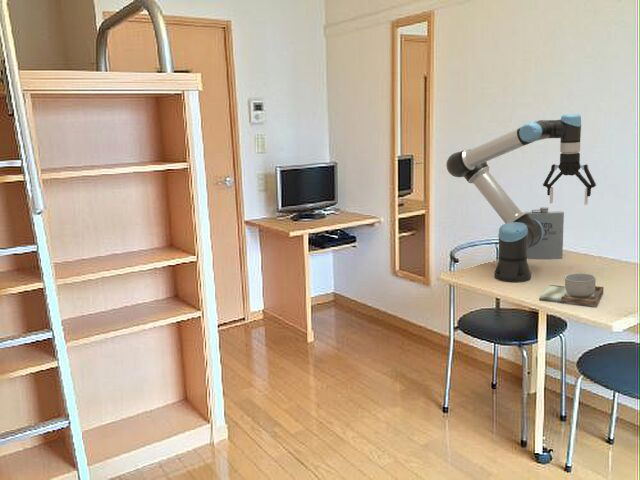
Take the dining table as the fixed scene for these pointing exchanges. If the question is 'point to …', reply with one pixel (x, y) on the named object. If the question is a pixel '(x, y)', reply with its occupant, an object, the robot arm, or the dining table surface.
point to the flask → (548, 235)
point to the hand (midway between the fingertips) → (568, 203)
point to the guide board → (561, 296)
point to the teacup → (580, 285)
